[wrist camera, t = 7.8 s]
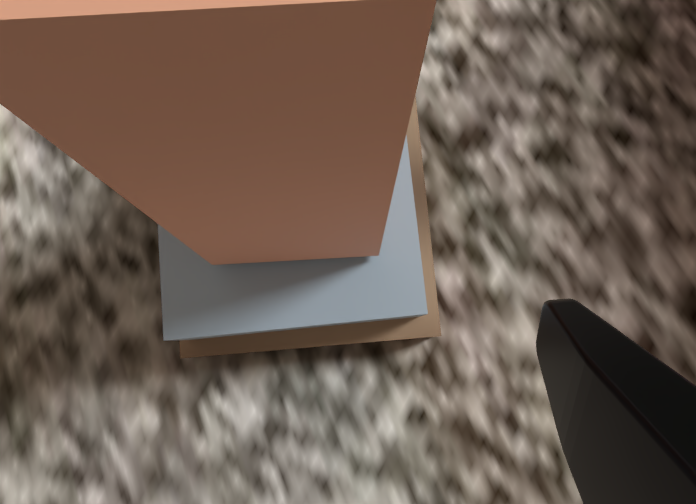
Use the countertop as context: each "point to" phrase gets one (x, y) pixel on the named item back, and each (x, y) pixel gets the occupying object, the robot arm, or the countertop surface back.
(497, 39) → the countertop surface
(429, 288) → the walnut base slab
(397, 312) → the grey top slab
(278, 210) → the terracotta block
